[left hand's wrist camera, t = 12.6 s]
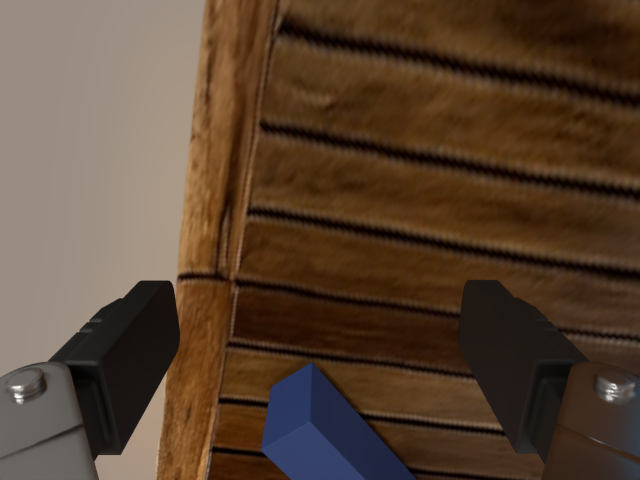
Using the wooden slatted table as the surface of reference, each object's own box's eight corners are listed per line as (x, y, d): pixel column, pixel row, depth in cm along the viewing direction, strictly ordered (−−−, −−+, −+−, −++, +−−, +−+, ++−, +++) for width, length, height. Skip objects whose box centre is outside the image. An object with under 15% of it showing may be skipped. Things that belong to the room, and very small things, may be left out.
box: (271, 386, 48) (260, 450, 39) (311, 361, 46) (310, 421, 38) (385, 505, 55) (397, 581, 46) (423, 486, 53) (443, 561, 45)
